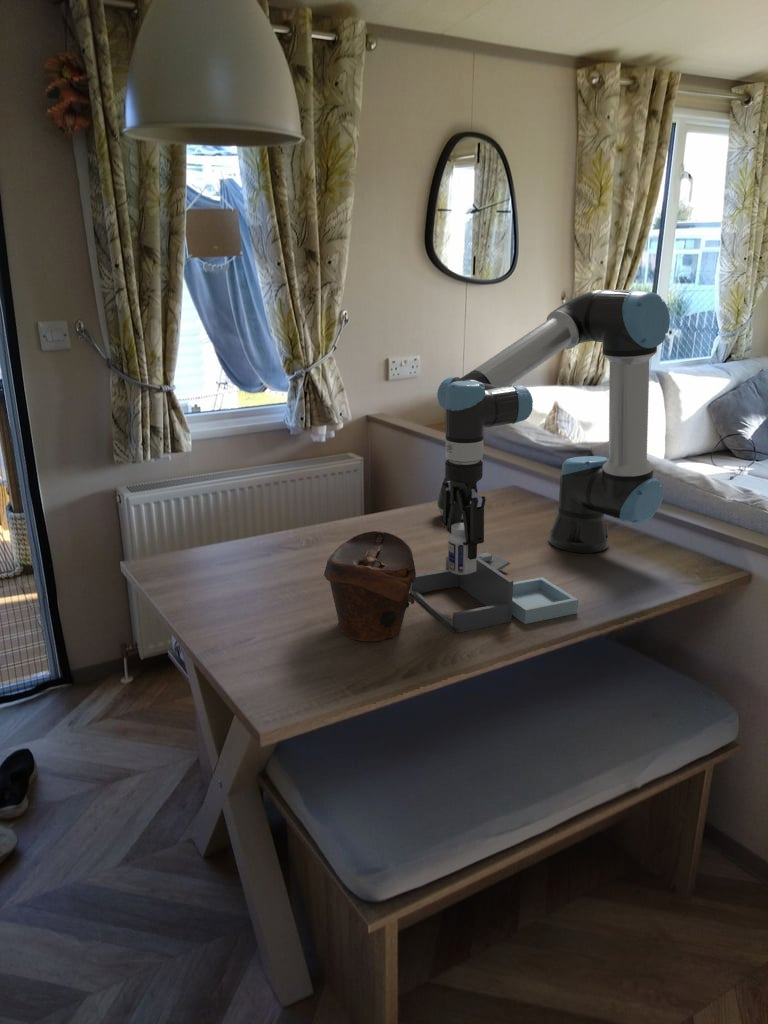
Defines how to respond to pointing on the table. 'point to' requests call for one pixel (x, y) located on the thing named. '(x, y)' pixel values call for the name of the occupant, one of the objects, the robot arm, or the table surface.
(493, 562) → the camera
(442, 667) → the table surface
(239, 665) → the table surface
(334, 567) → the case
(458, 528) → the pill bottle
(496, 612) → the stand
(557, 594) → the tray
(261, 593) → the table surface
